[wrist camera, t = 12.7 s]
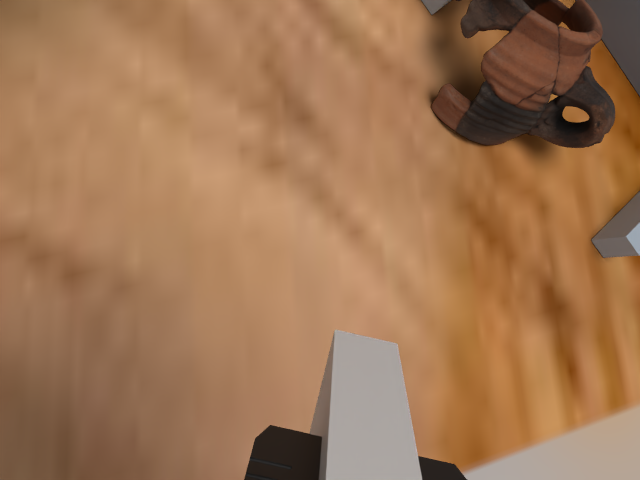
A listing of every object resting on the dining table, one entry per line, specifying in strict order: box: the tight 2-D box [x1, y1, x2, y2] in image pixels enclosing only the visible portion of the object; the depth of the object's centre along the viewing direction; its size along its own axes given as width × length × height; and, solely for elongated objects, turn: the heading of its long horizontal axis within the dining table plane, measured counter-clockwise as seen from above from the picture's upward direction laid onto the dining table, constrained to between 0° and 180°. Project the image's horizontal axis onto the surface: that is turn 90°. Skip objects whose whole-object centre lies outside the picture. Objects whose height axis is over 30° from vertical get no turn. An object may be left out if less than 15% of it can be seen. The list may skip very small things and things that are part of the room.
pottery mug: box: [431, 0, 615, 148], centre depth 37 cm, size 12×10×8 cm
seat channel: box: [421, 0, 640, 258], centre depth 38 cm, size 12×21×5 cm, turn 39°
